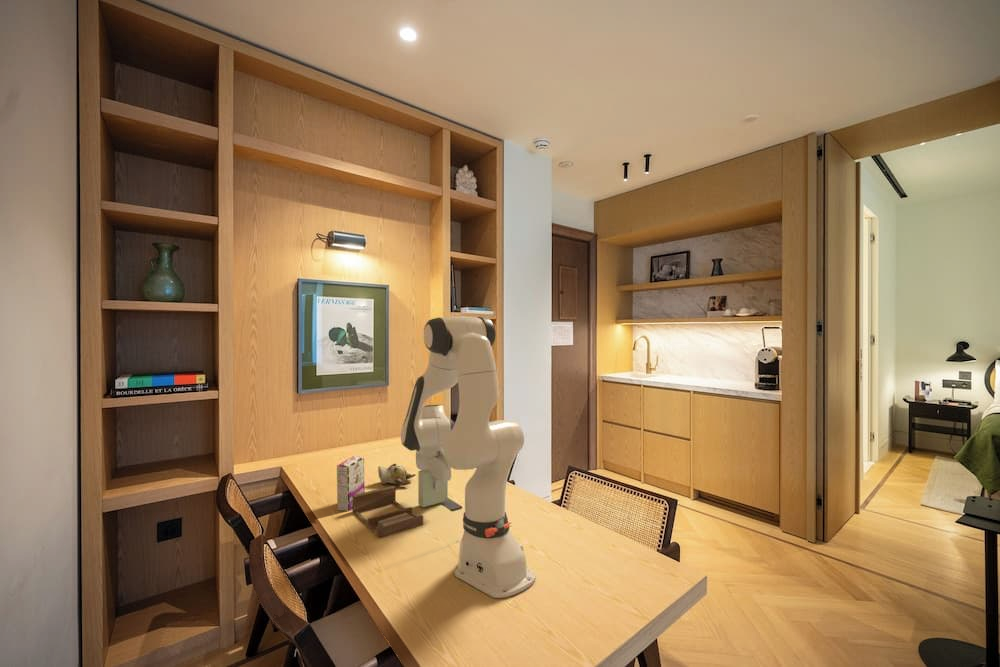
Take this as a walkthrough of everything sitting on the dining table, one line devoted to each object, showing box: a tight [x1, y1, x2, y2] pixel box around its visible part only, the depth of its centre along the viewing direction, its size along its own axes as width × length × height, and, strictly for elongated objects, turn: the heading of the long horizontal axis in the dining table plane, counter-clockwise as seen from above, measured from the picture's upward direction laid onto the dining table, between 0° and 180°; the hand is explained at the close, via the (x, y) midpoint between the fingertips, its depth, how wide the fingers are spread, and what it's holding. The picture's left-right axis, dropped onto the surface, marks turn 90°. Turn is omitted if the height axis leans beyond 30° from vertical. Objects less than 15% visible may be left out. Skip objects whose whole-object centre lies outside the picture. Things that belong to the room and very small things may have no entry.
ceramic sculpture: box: [377, 463, 416, 486], centre depth 179 cm, size 11×9×15 cm
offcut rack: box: [352, 485, 424, 539], centre depth 144 cm, size 24×15×7 cm, turn 38°
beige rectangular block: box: [417, 469, 449, 508], centre depth 155 cm, size 4×10×12 cm, turn 128°
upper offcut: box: [377, 513, 413, 528], centre depth 138 cm, size 6×10×2 cm, turn 132°
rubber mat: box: [439, 497, 463, 512], centre depth 156 cm, size 14×16×1 cm
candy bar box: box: [336, 455, 366, 512], centre depth 157 cm, size 11×5×16 cm, turn 168°
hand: (433, 486), depth 155 cm, fingers closed on beige rectangular block, 4 cm apart
